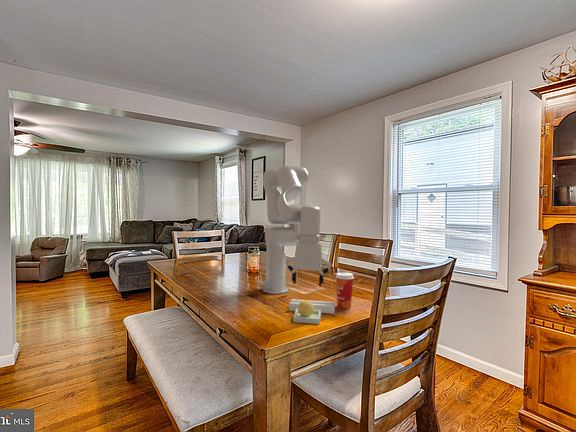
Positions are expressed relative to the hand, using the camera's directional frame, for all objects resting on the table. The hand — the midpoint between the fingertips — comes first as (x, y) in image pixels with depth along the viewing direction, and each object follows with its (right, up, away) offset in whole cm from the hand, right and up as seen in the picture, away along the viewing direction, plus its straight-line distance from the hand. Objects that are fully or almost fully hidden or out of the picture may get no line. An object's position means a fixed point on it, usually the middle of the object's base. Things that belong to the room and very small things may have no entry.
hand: (307, 284), depth 113 cm
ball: (-1, -9, 0) cm, 9 cm away
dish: (0, -13, 0) cm, 13 cm away
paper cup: (+16, -13, +13) cm, 25 cm away
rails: (+2, -13, +9) cm, 16 cm away
